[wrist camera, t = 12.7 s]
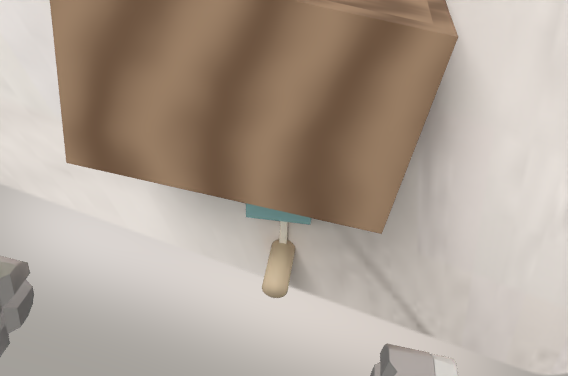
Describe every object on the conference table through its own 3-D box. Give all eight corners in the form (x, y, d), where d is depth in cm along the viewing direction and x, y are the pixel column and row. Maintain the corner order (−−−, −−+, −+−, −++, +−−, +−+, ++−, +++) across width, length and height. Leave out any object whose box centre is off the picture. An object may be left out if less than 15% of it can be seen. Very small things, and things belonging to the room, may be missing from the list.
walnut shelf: (437, -22, 36) (458, 36, 27) (380, 147, 44) (381, 233, 35) (126, -90, 36) (44, -55, 27) (128, 90, 44) (66, 162, 36)
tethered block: (320, 138, 45) (314, 175, 40) (309, 259, 53) (303, 301, 49) (256, 131, 45) (244, 167, 41) (256, 253, 54) (245, 294, 49)
